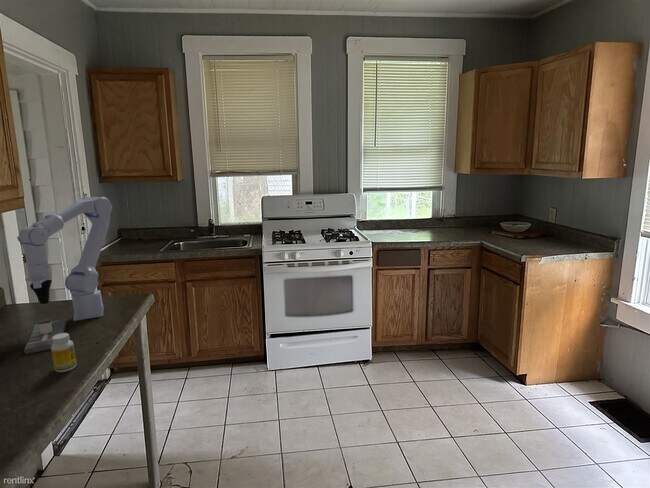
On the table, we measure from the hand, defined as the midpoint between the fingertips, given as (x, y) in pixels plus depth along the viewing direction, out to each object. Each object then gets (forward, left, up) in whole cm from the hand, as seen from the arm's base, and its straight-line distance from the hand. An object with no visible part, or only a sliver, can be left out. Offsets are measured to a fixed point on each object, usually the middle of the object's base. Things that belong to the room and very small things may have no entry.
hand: (44, 303), depth 145 cm
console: (0, +5, -10) cm, 11 cm away
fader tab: (0, +5, -8) cm, 10 cm away
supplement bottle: (-8, +32, -10) cm, 35 cm away
